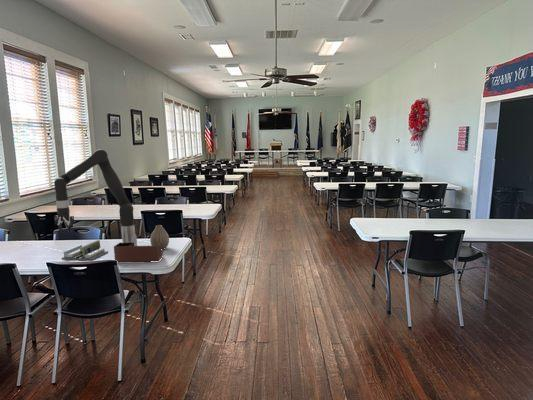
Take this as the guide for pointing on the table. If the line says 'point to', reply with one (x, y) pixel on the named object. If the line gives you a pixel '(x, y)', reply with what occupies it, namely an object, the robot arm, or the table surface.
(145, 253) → the desk organizer
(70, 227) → the robot arm
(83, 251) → the handheld radio
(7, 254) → the table surface
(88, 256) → the vise bed
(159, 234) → the vase
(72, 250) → the sliding jaw
